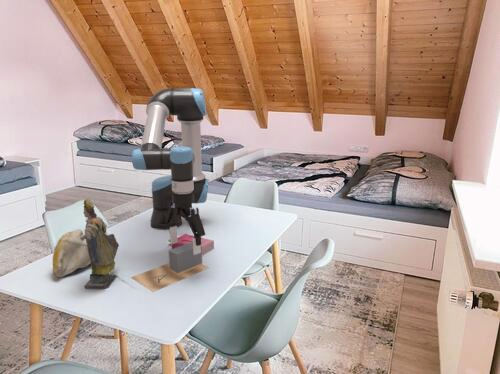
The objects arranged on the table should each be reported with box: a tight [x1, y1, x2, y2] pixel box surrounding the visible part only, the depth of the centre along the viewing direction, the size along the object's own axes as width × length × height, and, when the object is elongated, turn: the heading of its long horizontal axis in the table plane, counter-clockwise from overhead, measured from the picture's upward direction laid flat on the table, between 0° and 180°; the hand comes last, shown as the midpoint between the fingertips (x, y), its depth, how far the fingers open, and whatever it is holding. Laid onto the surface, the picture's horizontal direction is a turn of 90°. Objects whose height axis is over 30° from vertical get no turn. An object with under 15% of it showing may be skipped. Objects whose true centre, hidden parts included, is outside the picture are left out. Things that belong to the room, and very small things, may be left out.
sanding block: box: [168, 242, 203, 275], centre depth 144 cm, size 11×5×8 cm, turn 136°
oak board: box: [130, 262, 210, 293], centre depth 141 cm, size 24×14×1 cm, turn 136°
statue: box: [80, 198, 120, 290], centre depth 134 cm, size 15×11×30 cm
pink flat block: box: [167, 233, 215, 256], centre depth 163 cm, size 9×5×20 cm
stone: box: [52, 228, 109, 278], centre depth 148 cm, size 15×14×25 cm
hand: (185, 248), depth 142 cm, fingers open, 13 cm apart
